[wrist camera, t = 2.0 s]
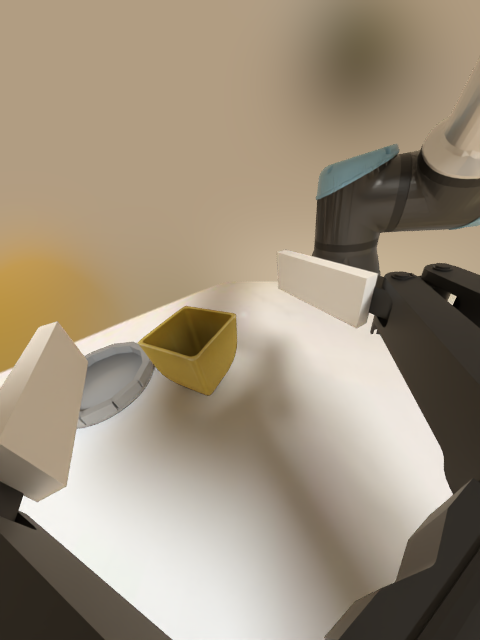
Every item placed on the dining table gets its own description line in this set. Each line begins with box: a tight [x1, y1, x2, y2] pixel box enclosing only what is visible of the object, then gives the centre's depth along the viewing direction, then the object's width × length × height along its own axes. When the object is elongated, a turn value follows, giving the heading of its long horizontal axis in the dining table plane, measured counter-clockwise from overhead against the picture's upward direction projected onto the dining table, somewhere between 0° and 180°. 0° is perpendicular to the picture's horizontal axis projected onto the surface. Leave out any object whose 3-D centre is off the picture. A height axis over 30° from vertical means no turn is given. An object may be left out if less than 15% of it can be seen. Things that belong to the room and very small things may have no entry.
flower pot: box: [138, 306, 237, 395], centre depth 27 cm, size 9×9×9 cm
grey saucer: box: [77, 342, 153, 429], centre depth 31 cm, size 14×14×2 cm
